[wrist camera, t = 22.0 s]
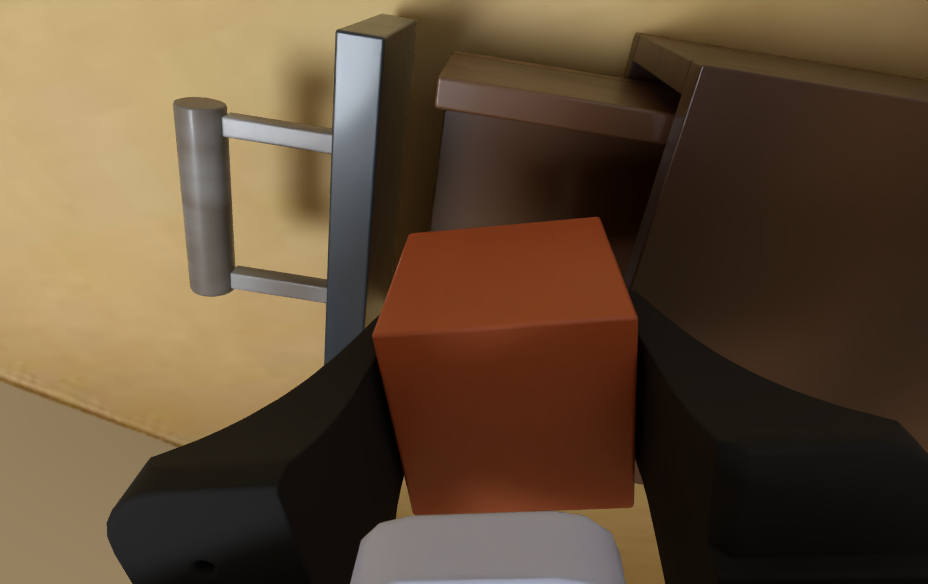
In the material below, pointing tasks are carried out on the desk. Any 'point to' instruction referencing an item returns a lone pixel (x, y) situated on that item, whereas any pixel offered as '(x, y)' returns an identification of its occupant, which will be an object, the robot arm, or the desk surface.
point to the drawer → (458, 173)
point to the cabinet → (793, 222)
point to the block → (511, 369)
